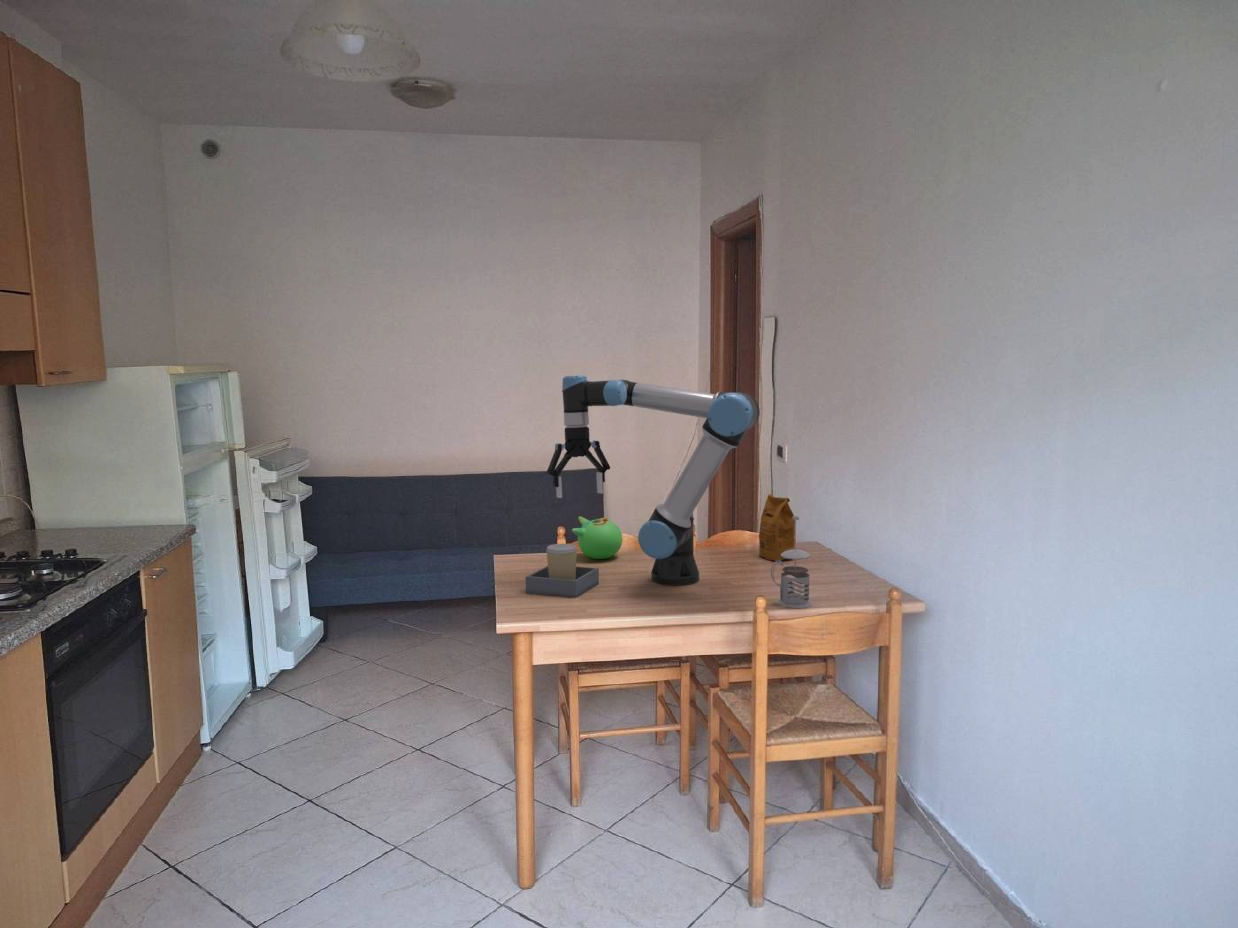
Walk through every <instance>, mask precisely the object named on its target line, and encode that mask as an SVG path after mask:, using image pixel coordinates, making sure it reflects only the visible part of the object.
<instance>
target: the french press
mask: <svg viewBox="0 0 1238 928" xmlns="http://www.w3.org/2000/svg"><path fill="white" fill-rule="evenodd" d="M793 515H794V514H793ZM792 519H793V520H795V549H791V550H788V551H785V552H783V553H782V554H781V557H783V558H785V559H784V560H792V561H794V565H789V566H784V562H783V560H778V561H774V563H773V564H772V566H771V569H770V577H771V579H772V581H773V583H774V584H775V585H776V586H778V587H779V588H780V589H779V591H780V593H779V597H780V598H779V599H778V600H777V604H778V606H779V605H780V606H782V607H785V608H791V609H803V608H805V609H806V608H809V607H812V606H813V605H814V604H813V602H812V601H811V600H810V574H809V573H808V572H809V568H807V567H804V566H796V564H797V563H796V561H798V560H799V561H800V560H808V559H810V557H811V555H810V554H809V553H808V552H807V551H804V550H803V549H797V548H796V546H797V544H796V542H797V521H799V520H800V516H799V515H797V514H796V515H794V516H793V517H792ZM778 564H780V566H781V567H783V568H781V569H782V571H783V572H782V573H781V575H780V584H779V583H778V582H776V580H775V577H774V576H773V575H774V571H775V569H776V567H777V566H778ZM788 576H789V577H788ZM790 576H791V577H790ZM794 582H795V583H794ZM795 587H796V588H795Z"/></svg>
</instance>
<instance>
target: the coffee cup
mask: <svg viewBox="0 0 1238 928" xmlns="http://www.w3.org/2000/svg"><path fill="white" fill-rule="evenodd" d="M545 550H546V559H547V566H548V572H549V578H554V579H565V580H575V578H576V566H577V552H578V547H577V545H576V544H572V543H554V544H549V545H547V546H546V549H545Z"/></svg>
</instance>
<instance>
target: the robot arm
mask: <svg viewBox="0 0 1238 928" xmlns="http://www.w3.org/2000/svg"><path fill="white" fill-rule="evenodd" d="M561 393H562V403H563V422H564V423H563V425H564V426H565V428H564V440H565V441H564V443H557V442H556V443H555V444H554V445H555V446H554V447H555V448H554V453H553V455H552V457H551V459H550V463H549V465H548V466H547V467H548V468H547V471H546V474H547V475H549V476H552V485H553V487H554V488H555V490H556V491H555V493H556V498H558V499H562V498H563V487H562V486H563V485H562V476H559V475H560V474H561V473H562V471H563V470H564V468H565V467H566V466H567V464H568V462H569V461H570V460H571V459H572V458H578V457H582V458H583V457H585V458H587V459H588V460H589V462H590V463H591V464H592V465H593V466H594V467H595V469H596V470H597V472H596V477H595V478H596V493H598V494H604V485H603V483H605V482H606V475H605V474H606V472H607V471H608V470H610V469H611V466H610V464H609V462H608V460H607V459H606V456H605V454H604V452H603V451H602V449H601V443H600V441H599V440H593V441H590V427H589V426H588V425H590V420H589V419H590V417H589V416H590V415H589V407H609V406H611V407H617V406H628V407H635V408H641V409H648V410H653V411H661V412H664V413H665V412H666V413H671V414H672V413H673V414H679V415H684V416H691V417H695V418H702V419H705V421H704V423H703V424H702V426H701V428H702V433H703V435H702V437H701V438H700V440H699V442H698V443H697V445H696V447H695V449H694V451H693V452H692V455H691V456H690V457H689V459H688V461H687V463H686V464H685V466H684V468H683V470H682V472H681V473H680V475H679V477H678V479H677V480H676V482H675V484H674V486H673V488H672V489H671V491H670V492H669V494H668V496H667V498H666V500H665V501H664V503H661V504H658V505H656V507H655V509H654V510H653V512H652V514H651V515H650V517H649V519H648V521H646V522H644V523H643V524H642V525H641V528H640V529H639V531H638V535H637V540H638V541H637V542H638V545H639V547H640V549H641V551H642V552H643V553H644V554H645V555H646V556H648V557H649V558H651V559H654V562H653V566H652V569H651V573H650V576H651V577H650V579H651V581H652V582H654V583H656V584H659V585H666V586H686V585H691V584H696V583H697V582H699V581H700V571H699V568H698V564H697V562H696V560H695V559H696V558H695V555H694V553H695V552H694V535H695V534H694V522H695V521H694V520H695V516H694V511H695V510H696V508H697V506H698V504H699V503H700V501H701V499H702V497H703V496H704V494H705V492H707V491H706V490H708V487H709V485H710V484H711V482H712V481H713V479H714V478H715V475H716V474H717V472H718V471H719V469H720V467H721V465H722V464H723V462H724V460H725V458H726V456H727V455H728V453H729V452H730V450H731V449H735V448H738V447H739V445H740V443H741V442H742V440H743V438H744V436H745V435H746V433H748V431H749V430H750V429H752V428H753V427H754V426H755V425H756V424H757V422H758V421H759V418H760V415H761V413H760V411H761V410H760V406H759V403H758V401H757V400H756V398H755V397H754V396H752V395H750V394H749V393H747V392H741V391H737V392H728V391H727V392H725V391H718V392H716V393H709V392H702V391H697V390H696V391H695V390H689V389H682V388H676V387H669V386H663V385H655V384H650V383H649V384H648V383H642V382H634V381H630V380H628V379H619V380H616V379H610V380H597V381H595V380H594V381H590V380H589V381H588V379H587V376H586V374H585V375H583V374H582V375H580V374H579V375H565V376H564V377H563V378H562V391H561ZM591 448H592V449H593V450H594V452H595V454H596V456H597V458H598V459H596V457H595V456H594V455H593V453H592V452H591V451H590V449H591ZM564 449H565V451H566V452H565V453H564V455H563V457H562V458H561V460H560V457H561V454H562V452H563V450H564ZM559 460H560V462H559ZM598 460H599V461H598ZM558 462H559V463H558Z"/></svg>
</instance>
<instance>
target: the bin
mask: <svg viewBox="0 0 1238 928" xmlns="http://www.w3.org/2000/svg"><path fill="white" fill-rule="evenodd" d="M599 571H600V569H599V567H588V566H577V565H576V578H575V580H565V579H554V578H549V572H548V565H547V566H544V567H541V569H538V570H536V571H534V572H532V573H530V574H528V575H526V576H525V593H526V594H533V595H542V596H543V595H544V596H550V597H551V596H553V597H563V598H571V597H577V598H579V597H580V596H582V595H584V594H585V593H586V592H588V591H590V590H591V589H594V587H596V586H598V585H600V578H599V577H600V574H599V573H600V572H599Z"/></svg>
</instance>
